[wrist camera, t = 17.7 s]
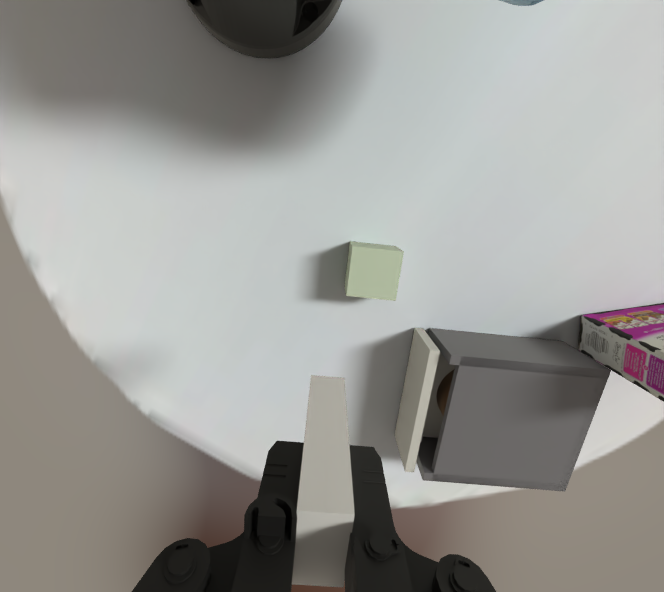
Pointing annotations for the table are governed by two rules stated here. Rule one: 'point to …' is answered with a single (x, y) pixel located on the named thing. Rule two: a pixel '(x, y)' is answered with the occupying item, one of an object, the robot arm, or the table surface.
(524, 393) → the housing
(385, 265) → the pale green block
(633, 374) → the candy bar box
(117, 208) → the table surface
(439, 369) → the cream pull-out drawer
